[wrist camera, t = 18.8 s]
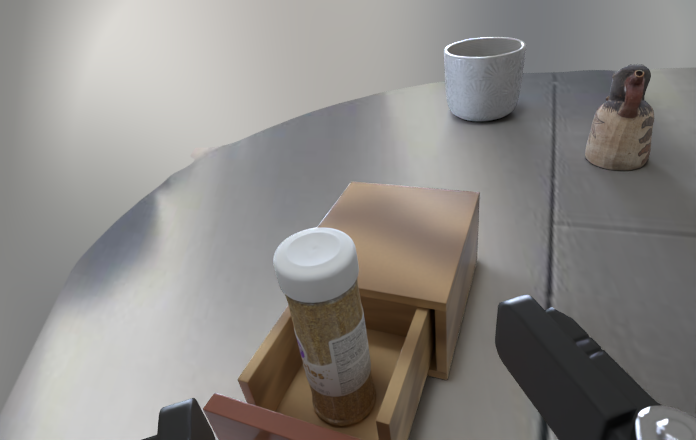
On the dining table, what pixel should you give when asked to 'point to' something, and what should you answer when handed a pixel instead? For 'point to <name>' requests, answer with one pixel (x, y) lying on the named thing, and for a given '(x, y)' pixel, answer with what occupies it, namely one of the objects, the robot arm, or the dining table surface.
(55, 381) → the dining table surface
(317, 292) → the sprinkles bottle
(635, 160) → the figurine
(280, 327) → the drawer
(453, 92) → the planter
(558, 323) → the robot arm
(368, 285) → the cabinet
